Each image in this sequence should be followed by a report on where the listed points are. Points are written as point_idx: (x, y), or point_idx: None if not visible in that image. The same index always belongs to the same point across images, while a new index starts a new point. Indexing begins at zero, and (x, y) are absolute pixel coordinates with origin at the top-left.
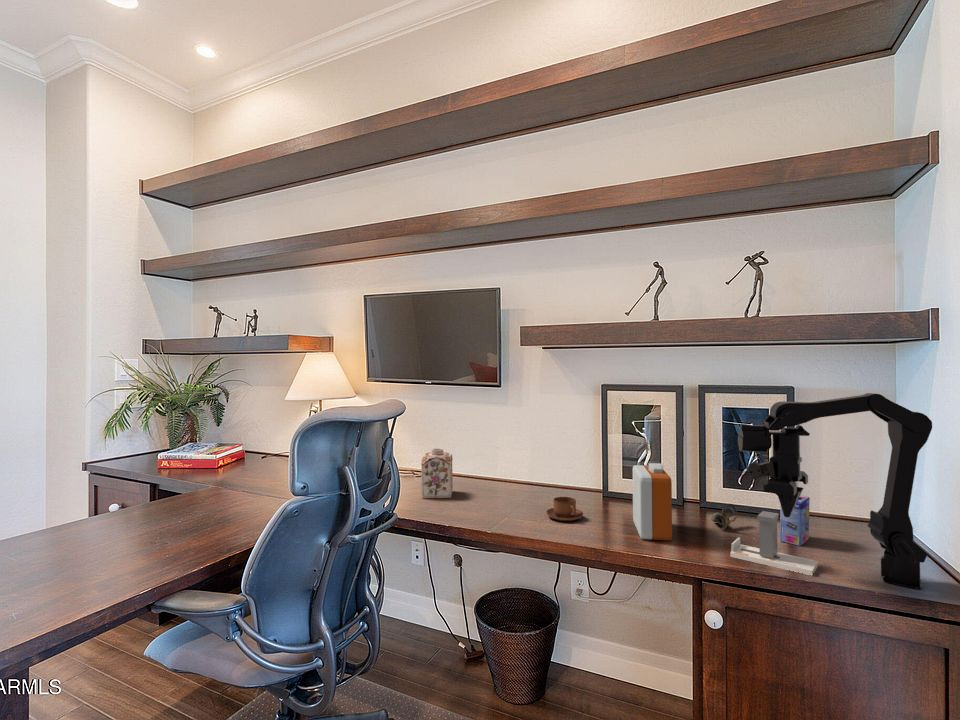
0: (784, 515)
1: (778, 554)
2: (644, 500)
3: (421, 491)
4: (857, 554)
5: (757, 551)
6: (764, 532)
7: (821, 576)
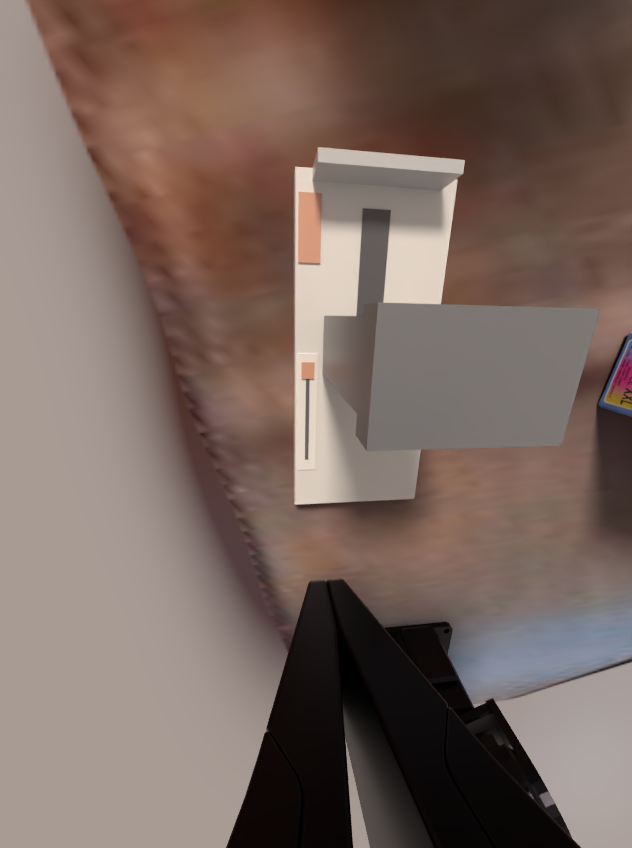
0: (308, 590)
1: None
2: None
3: None
4: (586, 549)
5: (392, 290)
6: (348, 351)
7: (311, 514)
